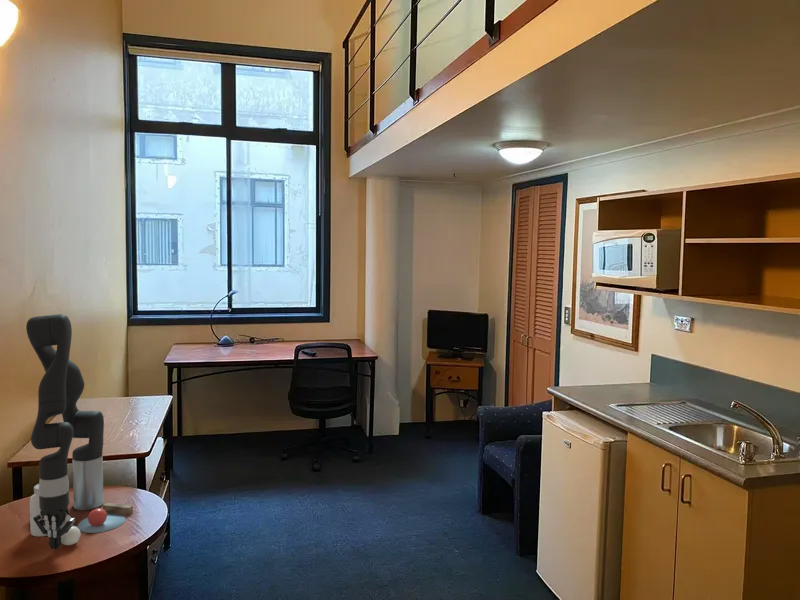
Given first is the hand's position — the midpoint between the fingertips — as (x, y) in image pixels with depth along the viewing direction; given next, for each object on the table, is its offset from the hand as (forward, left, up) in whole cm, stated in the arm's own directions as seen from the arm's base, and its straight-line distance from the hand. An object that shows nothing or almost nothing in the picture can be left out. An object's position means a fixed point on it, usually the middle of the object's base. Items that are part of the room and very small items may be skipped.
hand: (55, 548), depth 174 cm
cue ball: (-3, +4, +1) cm, 6 cm away
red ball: (-12, +14, +1) cm, 18 cm away
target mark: (-13, +15, -2) cm, 20 cm away
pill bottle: (-17, 0, -2) cm, 17 cm away
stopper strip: (-18, +21, -2) cm, 28 cm away
